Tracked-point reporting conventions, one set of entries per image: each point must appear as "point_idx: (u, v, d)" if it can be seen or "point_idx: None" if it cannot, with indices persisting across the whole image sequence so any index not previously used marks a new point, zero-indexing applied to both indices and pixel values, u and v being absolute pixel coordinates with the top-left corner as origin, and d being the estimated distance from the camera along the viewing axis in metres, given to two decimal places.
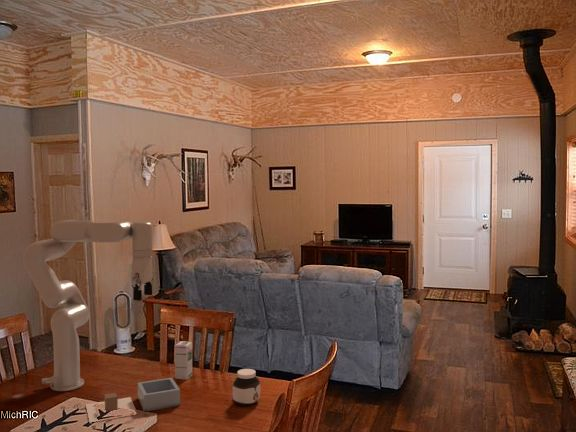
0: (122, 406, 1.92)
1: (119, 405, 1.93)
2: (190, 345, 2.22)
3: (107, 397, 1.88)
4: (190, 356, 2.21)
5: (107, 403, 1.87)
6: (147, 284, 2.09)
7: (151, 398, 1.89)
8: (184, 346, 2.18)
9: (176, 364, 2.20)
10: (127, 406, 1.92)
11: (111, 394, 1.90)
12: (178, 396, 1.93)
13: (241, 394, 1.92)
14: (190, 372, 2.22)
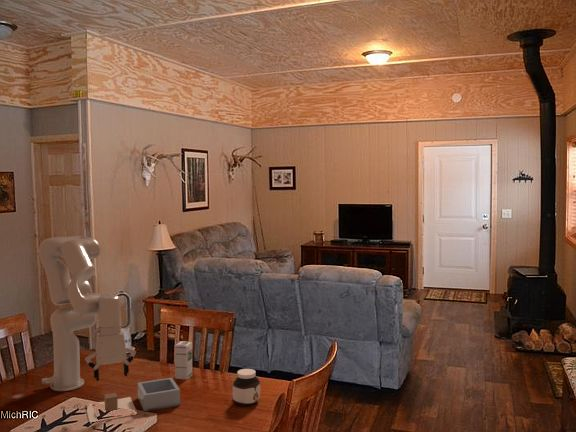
0: (122, 406, 1.92)
1: (119, 405, 1.93)
2: (190, 345, 2.22)
3: (107, 397, 1.88)
4: (190, 356, 2.21)
5: (107, 403, 1.87)
6: (97, 367, 1.86)
7: (151, 398, 1.89)
8: (184, 346, 2.18)
9: (176, 364, 2.20)
10: (127, 406, 1.92)
11: (111, 394, 1.90)
12: (178, 396, 1.93)
13: (241, 394, 1.92)
14: (190, 372, 2.22)
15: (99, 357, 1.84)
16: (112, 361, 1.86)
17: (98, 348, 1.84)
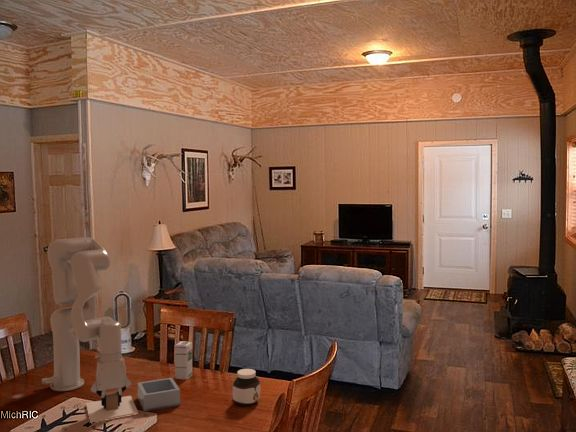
0: (122, 404, 1.92)
1: None
2: (190, 345, 2.22)
3: (107, 395, 1.87)
4: (190, 356, 2.21)
5: (107, 401, 1.87)
6: None
7: (151, 398, 1.89)
8: (184, 346, 2.18)
9: (176, 364, 2.20)
10: (127, 404, 1.92)
11: (111, 393, 1.90)
12: (178, 396, 1.93)
13: (241, 394, 1.92)
14: (190, 372, 2.22)
15: (99, 383, 1.85)
16: (112, 387, 1.86)
17: (99, 374, 1.85)
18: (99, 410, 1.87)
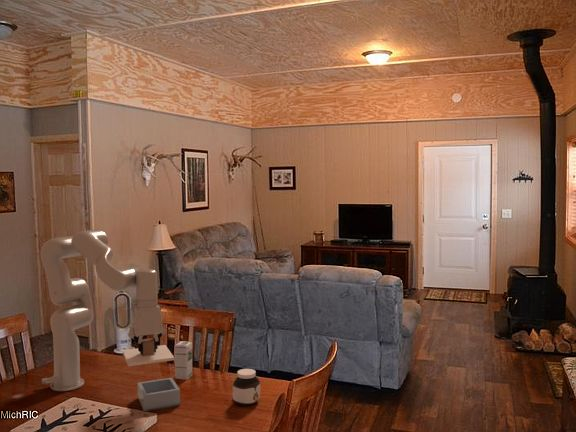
0: (158, 351, 1.96)
1: None
2: (190, 345, 2.22)
3: (144, 341, 1.92)
4: (190, 356, 2.21)
5: (144, 347, 1.91)
6: None
7: (151, 398, 1.89)
8: (184, 346, 2.18)
9: (176, 364, 2.20)
10: (163, 351, 1.96)
11: (147, 339, 1.94)
12: (178, 396, 1.93)
13: (241, 394, 1.92)
14: (190, 372, 2.22)
15: (137, 329, 1.89)
16: (149, 333, 1.91)
17: (136, 319, 1.89)
18: (136, 355, 1.92)
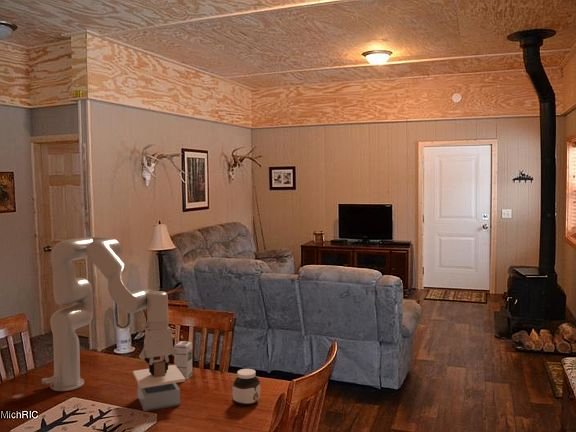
0: (169, 372, 1.98)
1: None
2: (190, 345, 2.22)
3: (155, 363, 1.94)
4: (190, 356, 2.21)
5: (155, 368, 1.94)
6: (152, 361, 1.95)
7: (151, 398, 1.89)
8: (184, 346, 2.18)
9: (176, 364, 2.20)
10: (173, 372, 1.99)
11: (158, 360, 1.97)
12: (178, 396, 1.93)
13: (241, 394, 1.92)
14: (190, 372, 2.22)
15: (148, 350, 1.91)
16: (160, 354, 1.93)
17: (147, 341, 1.91)
18: (147, 377, 1.94)
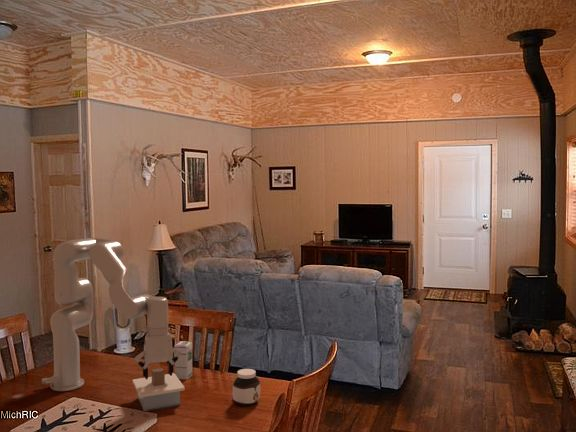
0: (168, 381, 1.99)
1: (165, 380, 2.00)
2: (190, 345, 2.22)
3: (154, 372, 1.95)
4: (190, 356, 2.21)
5: (155, 377, 1.94)
6: (146, 366, 1.94)
7: (151, 398, 1.89)
8: (184, 346, 2.18)
9: (176, 364, 2.20)
10: (173, 381, 1.99)
11: (158, 369, 1.97)
12: (178, 396, 1.93)
13: (241, 394, 1.92)
14: (190, 372, 2.22)
15: (148, 356, 1.92)
16: (160, 360, 1.93)
17: (147, 347, 1.91)
18: (147, 385, 1.94)
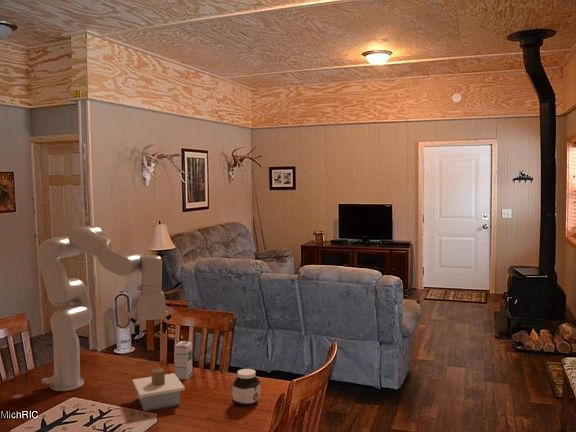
0: (168, 381, 1.99)
1: (165, 380, 2.00)
2: (190, 345, 2.22)
3: (154, 372, 1.95)
4: (190, 356, 2.21)
5: (155, 377, 1.94)
6: None
7: (151, 398, 1.89)
8: (184, 346, 2.18)
9: (176, 364, 2.20)
10: (173, 381, 1.99)
11: (158, 369, 1.97)
12: (178, 396, 1.93)
13: (241, 394, 1.92)
14: (190, 372, 2.22)
15: (141, 313, 1.93)
16: (152, 318, 1.95)
17: (140, 304, 1.93)
18: (147, 385, 1.94)
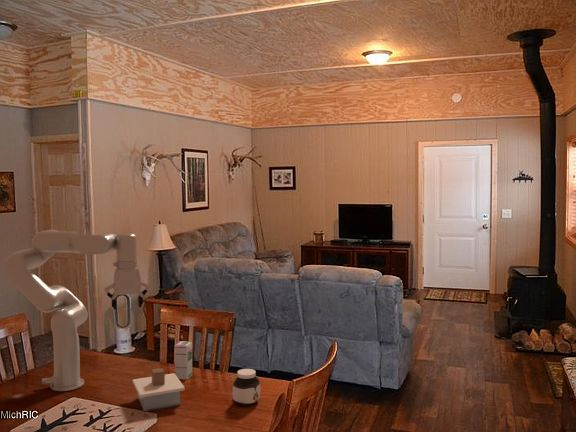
0: (168, 381, 1.99)
1: (165, 380, 2.00)
2: (190, 345, 2.22)
3: (154, 372, 1.95)
4: (190, 356, 2.21)
5: (155, 377, 1.94)
6: None
7: (151, 398, 1.89)
8: (184, 346, 2.18)
9: (176, 364, 2.20)
10: (173, 381, 1.99)
11: (158, 369, 1.97)
12: (178, 396, 1.93)
13: (241, 394, 1.92)
14: (190, 372, 2.22)
15: (117, 288, 2.04)
16: (128, 292, 2.06)
17: (116, 279, 2.04)
18: (147, 385, 1.94)
